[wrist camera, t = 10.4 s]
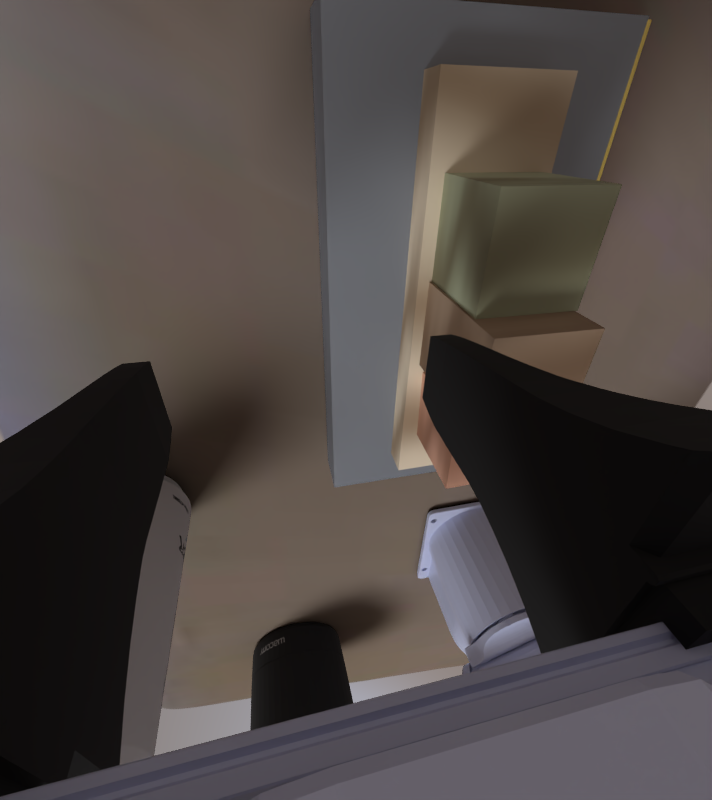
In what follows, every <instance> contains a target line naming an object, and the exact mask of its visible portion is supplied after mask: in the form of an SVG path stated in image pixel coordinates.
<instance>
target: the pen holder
mask: <svg viewBox="0 0 712 800" xmlns="http://www.w3.org/2000/svg"><path fill="white" fill-rule="evenodd" d="M349 704H353V700H352V695H351V691H350V686H349V681H348V676H347V672H346V667H345V662H344V658H343V654H342V649H341V645H340V641H339V637H338V634H337V633H336V631H335V630H333V629H332V628H331V627H330V626H328V625H326V624H322V623H315V622H306V623H298V624H293V625H289V626H285V627H283V628H280V629H278V630H275V631H273V632H271V633H270V634H268V635H267V636H265V637H264V638H263V639H262V640H261V641H260V642H259V643H258V645H257V647H256V648H255V650H254V655H253V672H252V698H251V730H254V729H258V728H262V727H266V726H270V725H273V724H277V723H281V722H285V721H288V720H292V719H296V718H300V717H304V716H307V715H311V714H315V713H319V712H323V711H326V710H330V709H334V708H338V707H341V706H345V705H349Z"/></svg>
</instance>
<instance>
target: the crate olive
mask: <svg viewBox="0 0 712 800" xmlns="http://www.w3.org/2000/svg"><path fill="white" fill-rule="evenodd" d="M621 186H622V184H616V183H610V182H604V181H597V180H591V179H585V178H578V177H572V176H566V175H559V174H553V173H547V172H485V173H445V177H444V185H443V193H442V202H441V210H440V218H439V226H438V235H437V243H436V251H435V259H434V267H433V276H432V283H434V284H435V285H436V286H437V287H438V288H439V289H441V290H442V291H443V292H444V293H445V294H446V295H448V296H449V297H450V298H451V299H452V300H453V301H455V302H456V303H457V304H458V305H459V306H460V307H461V308H463V309H464V310H465V311H466V312H467V313H468V314H470V315H471V316H472V317H473V318H474V319H486V318H497V317H509V316H521V315H532V314H544V313H556V312H567V311H578V308H579V305H580V302H581V299H582V297H583V294H584V291H585V288H586V285H587V282H588V280H589V277H590V274H591V271H592V268H593V265H594V263H595V260H596V257H597V254H598V251H599V248H600V246H601V243H602V240H603V237H604V234H605V231H606V228H607V226H608V223H609V220H610V217H611V214H612V211H613V209H614V206H615V203H616V200H617V197H618V194H619V192H620V189H621Z"/></svg>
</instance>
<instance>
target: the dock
mask: <svg viewBox="0 0 712 800" xmlns="http://www.w3.org/2000/svg"><path fill="white" fill-rule="evenodd" d="M648 18H649V16H647V15H635V14H622V13H610V12H597V11H585V10H572V9H560V8H547V7H535V6H522V5H510V4H497V3H485V2H472V1H460V0H314V2H313V4H312V6H311V8H310V19H311V44H312V69H313V95H314V120H315V145H316V170H317V195H318V220H319V245H320V270H321V295H322V320H323V345H324V370H325V396H326V421H327V446H328V462H329V466H330V471H331V475H332V479H333V483H334V487H340V486H346V485H352V484H359V483H365V482H371V481H378V480H384V479H390V478H397V477H403V476H409V475H416V474H422V473H428V472H434V471H436V469H435V467H434V465H429V466H423V467H416V468H410V469H404V470H398V468H397V466H396V463H395V461H394V459H393V456H392V454H391V448H392V436H393V425H394V413H395V402H396V390H397V378H398V367H399V355H400V344H401V332H402V320H403V309H404V297H405V286H406V274H407V262H408V251H409V239H410V228H411V216H412V204H413V193H414V181H415V170H416V158H417V146H418V135H419V123H420V112H421V100H422V88H423V77H424V69H427V68H430V67H433V66H437V65H440V64H450V65H471V66H491V67H512V68H533V69H554V70H575V71H578V73H577V77H576V81H575V85H574V88H573V92H572V96H571V100H570V104H569V108H568V112H567V115H566V119H565V123H564V127H563V131H562V135H561V138H560V142H559V146H558V150H557V154H556V158H555V162H554V165H553V169H552V173H553V174H559V175H566V176H572V177H578V178H585V179H591V180H597V181H600V178H601V175H602V172H603V169H604V166H605V162H606V159H607V156H608V153H609V150H610V147H611V144H612V141H613V138H614V135H615V132H616V129H617V125H618V122H619V119H620V116H621V113H622V110H623V107H624V104H625V101H626V98H627V95H628V91H629V88H630V85H631V82H632V79H633V76H634V73H635V70H636V67H637V64H638V61H639V58H640V54H641V51H642V48H643V45H644V42H645V39H646V36H647V33H648V30H649V27H650V24H651V20H649V19H648Z"/></svg>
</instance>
